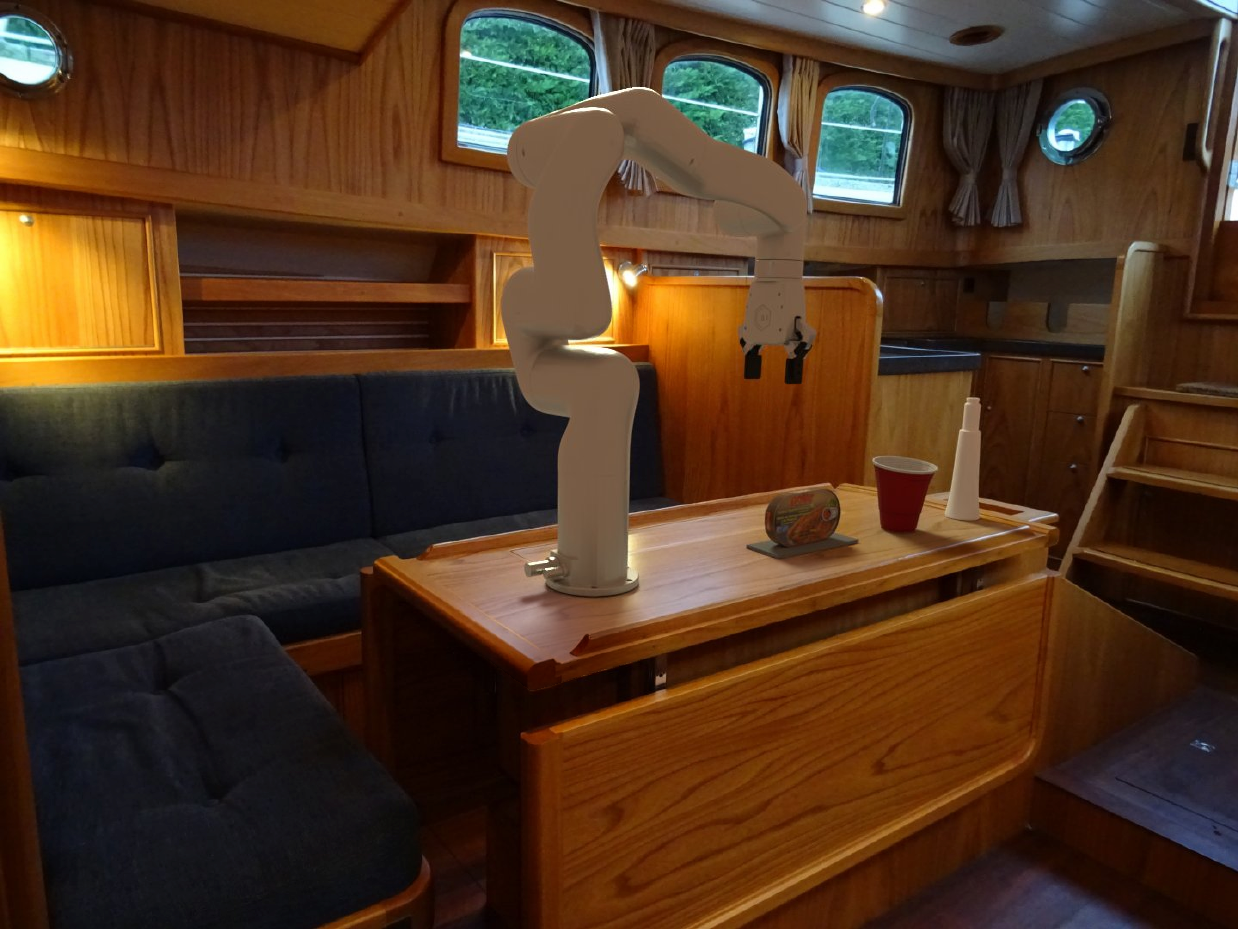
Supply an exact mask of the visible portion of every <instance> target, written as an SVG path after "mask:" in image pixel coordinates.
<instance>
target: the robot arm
mask: <svg viewBox="0 0 1238 929" xmlns="http://www.w3.org/2000/svg"><path fill="white" fill-rule="evenodd" d="M506 148H507V149H506V159H507V160H506V161H507V165H508V168H509V170H510V172H511V174H512V175H513V177H514V178H515V179H516V180H517V181H518V183H520V184H521V185H523V186H525V187H526V188H528V189H531V190H533V192H532V195H531V198H530V202H529V206H528V209H527V210H528V212H527V221H526V222H527V223H526V224H527V225H526V226H527V236H528V241H529V247H530V248H529V249H530V254H531V259H532V264H533V265H532V264H531V265H528V266H524V267H521V268H519V269H518V270H516V271H515V272H513V273H512V274H511V275H510V276H509V278H508V280H507V281H506V282H505V284H504V287H503V289H502V295H501V300H500V314H501V321H502V325H503V330H504V333H505V338H506V342H507V345H508V350H509V354H510V357H511V362H512V363H513V367H514V371H515V372H514V373H515V376H516V380H517V384H518V386H519V389H520V391H521V394H522V396H523V397H524V400H525V401H526V402H527V403H528V405H530V406H531V407H532V408H534V410H536V411H539V412H541V413H544V414H547V415H553V416H558V417H559V416H560V417H564V418H565V417H566V418H569V420H568V423H567V426H566V428H565V430H564V432H563V435H562V437H561V440H560V443H559V447H558V452H557V453H558V454H557V548H556V549H551V550H549V551H550V552H549V553H550V555H549V556H547V557H546V558H545V559H544V560H541V561H540V560H536V561H529V562H525V564H524V566H523V567H524V569H523V570H524V574H525V575H526V577H527V578H531V577H532V578H533V577H537V576H538V577H539V576H543V577H542V578H544V579H545V583H546V584H547V586H548V587H549V588H551V589H553V590H555V591H557V592H559V593H563V594H567V595H570V596H579V597H608V596H614V595H619V594H623V593H627V592H629V591H632V590H634V588H636V587H637V586H638V585H639V580H640V575H639V573H638V571H637V570H636V569H634V568H632V567H631V566H629V565H628V563H629V521H630V519H629V518H630V515H629V514H630V512H629V511H630V477H631V476H630V475H631V474H630V473H631V469H630V468H631V464H630V463H631V444H632V430H633V424H634V420H635V419H634V418H635V413H636V411H637V410H636V409H637V405H638V401H639V394H640V385H641V384H640V377H639V373H638V370H637V368H636V366H635V364H634V363H633V362H632V361H631V359H629V357H627V356H626V355H624V354H623V353H621V352H619V351H617V350H614V349H610V348H606V347H600V346H598V347H596V346H585V345H570V344H569V341H586V340H587V341H588V340H593V339H596V338H598V337H600V336H602V335H603V334H604V333H605V332H606V331H607V330H608V328H609V327H610V325H611V324H612V323H611V322H612V319H613V303H612V296H611V291H610V287H609V283H608V282H609V281H608V277H607V276H608V275H607V273H606V272H607V271H606V268H605V262H604V257H603V256H604V255H603V252H602V247H601V243H600V236H599V235H600V234H599V230H598V212H599V205H600V201H601V199H602V196H603V193H604V191H605V189H606V187H607V185H608V183H609V182H610V180H611V178H612V177H613V176H614V174H615V172H616V171H617V169H618V168H619V165H620V163H621V161H625V160H626V161H627V160H628V161H631V162H634V163H635V164H637V165H638V166H640V167H641V168H643V169H644V170H646V171H647V172H649V173H650V174H651V175H653V176H654V177H655V178H657V179H659V181H661V182H662V183H663V184H665V185H666V186H667V187H669V188H670V189H672V191H674V192H676V193H679V194H680V195H683V196H687V197H691V198H695V199H701V200H707V201H714V202H713V205H712V206H713V207H712V218H713V221H714V224H715V225H716V227H717V228H718V230H720V231H721V232H722V233H723V234H725V235H728V236H729V237H734V238H748V237H755V238H756V239H755V240H756V241H755V258H754V269H753V273H754V274H753V275H754V277H753V278H754V279H753V280H754V281H751V282H750V286H749V289H748V293H747V297H746V302H745V303H746V304H745V311H744V320H743V323H742V324H741V325H739V326H738V327H737V329H736V330H737V334H738V338H739V345H740V346H741V348H742V354H743V355H744V366H743V368H744V369H743V370H744V371H743V379H745V380H761V377H762V362H763V354H760V353H761V352H762V349H763V348H764V347H765V346H783V348H784V350H785V351H786V353H787V354H788V356H789V358H788V357H787V358H785V367H784V368H785V369H784V384H785V385H801V384H802V382H803V373H804V370H803V369H804V360H805V359H806V358H808V353H809V352H810V351H811V350H812V348H813V344H814V341H815V339H816V337H817V334H818V332H817V330H816V329H815V328H814V327H812V326H811V325H810V324H808V323H807V322H806V321H807V320H806V319H807V315H806V314H807V312H806V311H807V309H806V306H807V303H806V291H805V283H804V282H803V276H804V272H803V271H804V258H805V245H806V244H805V241H806V229H807V228H806V227H807V226H806V225H807V213H808V200H807V195H806V193H805V191H804V189H803V187H802V186H801V185H800V183H799V182H798V181H797V180H796V179H795V178H794V177H793V176H792V175H791V173H789V172H788V171H786V170H785V169H784V168H783V166H781V165H779V164H778V163H777V162H775V161H773V159H772V160H771V159H770V158H768V157H766V156H764V155H761V154H758V153H756V152H752V151H750V150H747V149H744V148H741V147H738V146H736V145H734V144H730V143H728V142H724V141H721V140H717V139H716V138H713V137H712V136H711V135H709V134H708V133H706V132H705V130H703V129H702V128H701V127H699V126H698V125H697V124H696V123H695V122H694V121H692V120H691V119H690V118H689V117H687V116H686V115H685V114H684V113H683V112H681V110H679V109H678V108H677V107H676V106H675V105H673V104H672V103H671V102H669V101H668V99H666V98H665V97H664V96H662V95H661V94H659V93H658V92H657V91H655V90H653V89H651V88H647V87H640V86H639V87H637V86H636V87H632V88H631V87H630V88H626V89H621V90H617V91H612V92H609V93H605V94H599V95H597V96H593V97H590V98H587V99H585V100H583V101H580V102H577V103H575V104H572V105H569V106H567V107H565V108H562V109H558V110H555V111H552V112H550V113H547V114H544V115H542V116H538V117H535V118H532V119H530V120H527V121H525V122H523V123H521V124H520V125H519V126H517V127H516V129H515V130H514V131H513V132H512V133H511V136H510V138H509V140H508V142H507V147H506Z"/></svg>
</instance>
